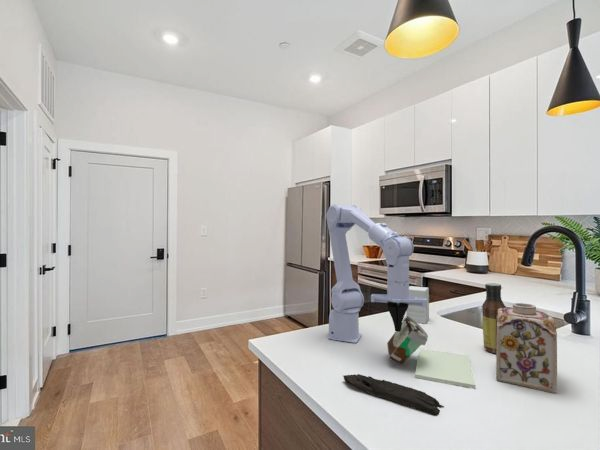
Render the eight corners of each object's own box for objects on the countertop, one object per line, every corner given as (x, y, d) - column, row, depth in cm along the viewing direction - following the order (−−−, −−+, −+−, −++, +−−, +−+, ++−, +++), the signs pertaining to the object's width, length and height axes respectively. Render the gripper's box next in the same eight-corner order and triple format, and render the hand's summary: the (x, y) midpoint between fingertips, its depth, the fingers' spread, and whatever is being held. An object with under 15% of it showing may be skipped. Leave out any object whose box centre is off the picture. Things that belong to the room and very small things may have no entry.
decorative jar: (557, 395, 71) (558, 313, 71) (495, 381, 77) (496, 306, 77) (550, 373, 81) (550, 302, 81) (496, 363, 87) (496, 296, 87)
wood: (446, 402, 68) (446, 388, 68) (439, 419, 62) (439, 404, 62) (352, 375, 81) (352, 363, 81) (338, 387, 75) (338, 374, 75)
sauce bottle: (506, 349, 96) (506, 283, 96) (509, 356, 91) (510, 286, 91) (481, 345, 99) (481, 281, 99) (483, 352, 94) (483, 285, 93)
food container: (409, 375, 82) (434, 346, 80) (389, 360, 82) (412, 330, 81) (404, 354, 94) (425, 328, 92) (386, 341, 94) (407, 314, 93)
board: (415, 377, 79) (415, 374, 79) (419, 350, 95) (419, 348, 95) (475, 388, 73) (475, 385, 73) (468, 358, 90) (468, 355, 90)
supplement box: (429, 319, 126) (429, 287, 126) (425, 324, 120) (425, 290, 120) (410, 316, 130) (410, 285, 130) (405, 321, 124) (405, 288, 124)
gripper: (368, 281, 87) (368, 331, 87) (425, 285, 81) (425, 338, 81) (373, 277, 94) (373, 323, 94) (426, 280, 88) (426, 330, 88)
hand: (398, 330), depth 88 cm, fingers closed
